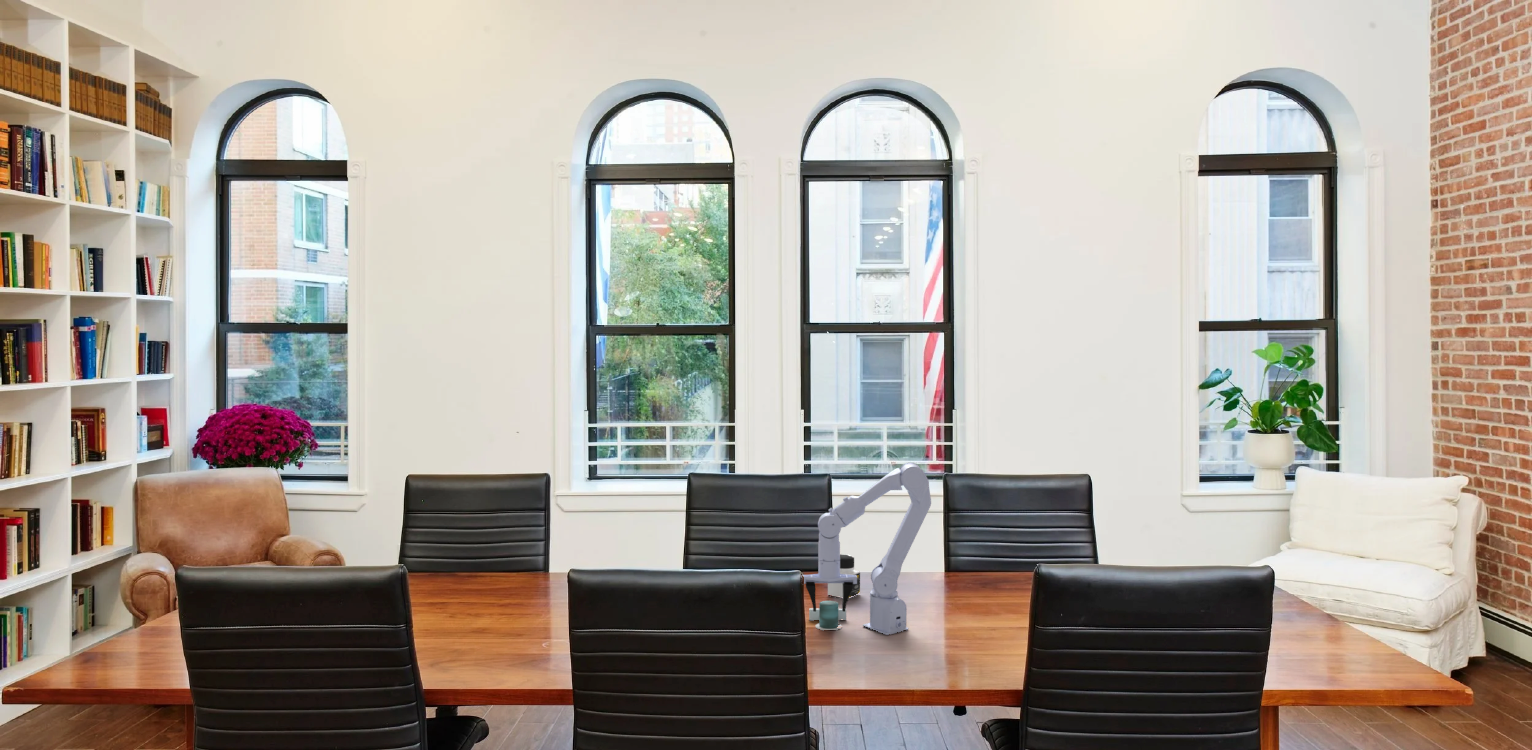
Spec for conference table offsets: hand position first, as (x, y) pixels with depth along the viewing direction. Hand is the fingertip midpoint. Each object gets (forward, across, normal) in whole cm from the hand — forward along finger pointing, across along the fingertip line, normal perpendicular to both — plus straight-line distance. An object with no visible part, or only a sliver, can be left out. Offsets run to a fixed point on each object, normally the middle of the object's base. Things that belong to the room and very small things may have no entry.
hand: (829, 610), depth 240 cm
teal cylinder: (+4, 0, 0) cm, 4 cm away
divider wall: (+4, 0, -6) cm, 7 cm away
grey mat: (+4, 0, 0) cm, 4 cm away
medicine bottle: (+5, -6, -31) cm, 32 cm away
